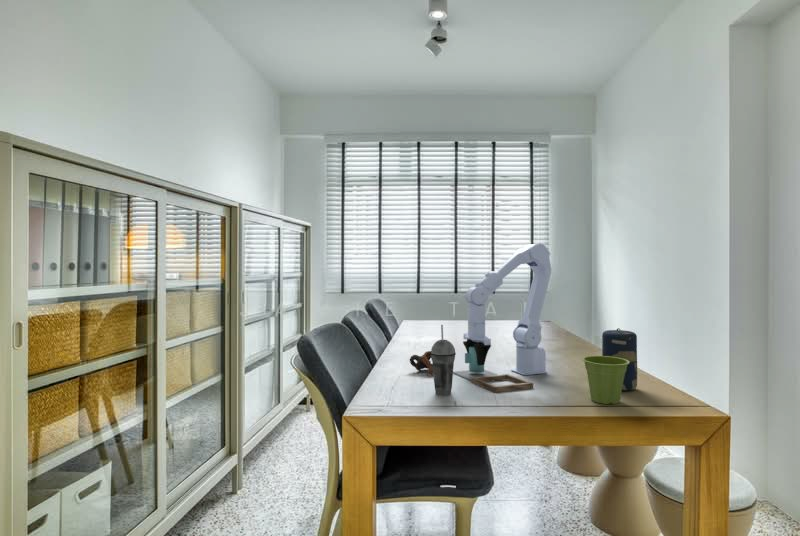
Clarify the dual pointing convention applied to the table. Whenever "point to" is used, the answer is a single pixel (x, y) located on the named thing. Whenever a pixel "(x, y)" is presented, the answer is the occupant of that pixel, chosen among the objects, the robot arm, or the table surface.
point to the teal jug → (473, 361)
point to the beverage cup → (443, 365)
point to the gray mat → (473, 374)
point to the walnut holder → (520, 385)
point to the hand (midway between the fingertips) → (476, 363)
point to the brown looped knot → (422, 362)
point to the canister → (622, 353)
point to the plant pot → (605, 377)
